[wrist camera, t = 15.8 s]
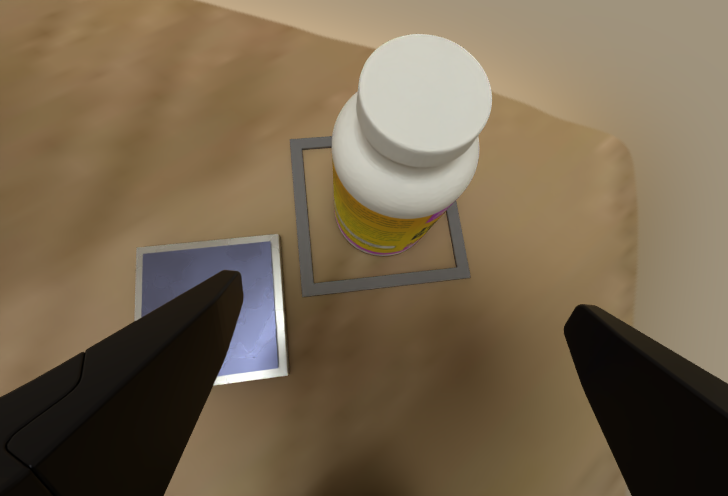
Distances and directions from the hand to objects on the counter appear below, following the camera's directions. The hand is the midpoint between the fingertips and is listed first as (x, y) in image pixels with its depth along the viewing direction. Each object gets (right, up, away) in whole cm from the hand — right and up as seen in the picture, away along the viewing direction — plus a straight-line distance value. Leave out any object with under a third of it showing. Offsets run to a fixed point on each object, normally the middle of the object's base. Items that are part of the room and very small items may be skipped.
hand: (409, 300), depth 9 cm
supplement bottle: (0, +4, +15) cm, 16 cm away
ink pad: (-11, -3, +13) cm, 17 cm away
